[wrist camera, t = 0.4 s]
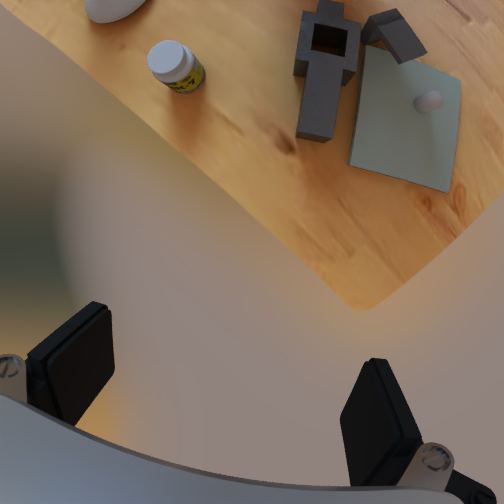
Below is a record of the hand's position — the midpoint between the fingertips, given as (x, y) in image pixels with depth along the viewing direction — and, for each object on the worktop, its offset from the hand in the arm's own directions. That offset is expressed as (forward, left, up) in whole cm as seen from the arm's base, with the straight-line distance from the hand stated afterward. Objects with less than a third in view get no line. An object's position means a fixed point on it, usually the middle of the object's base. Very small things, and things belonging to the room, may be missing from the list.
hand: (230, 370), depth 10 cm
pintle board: (-19, +15, -28) cm, 37 cm away
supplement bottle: (-17, -13, -28) cm, 35 cm away
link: (-20, +3, -28) cm, 35 cm away
